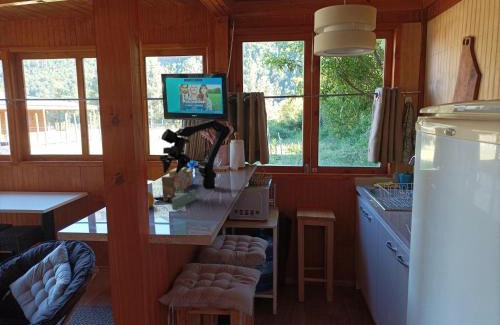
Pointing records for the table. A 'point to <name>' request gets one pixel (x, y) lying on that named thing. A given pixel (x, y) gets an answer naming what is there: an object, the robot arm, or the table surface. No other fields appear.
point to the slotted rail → (183, 199)
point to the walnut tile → (168, 188)
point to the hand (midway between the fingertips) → (170, 173)
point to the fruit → (150, 199)
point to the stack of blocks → (181, 178)
